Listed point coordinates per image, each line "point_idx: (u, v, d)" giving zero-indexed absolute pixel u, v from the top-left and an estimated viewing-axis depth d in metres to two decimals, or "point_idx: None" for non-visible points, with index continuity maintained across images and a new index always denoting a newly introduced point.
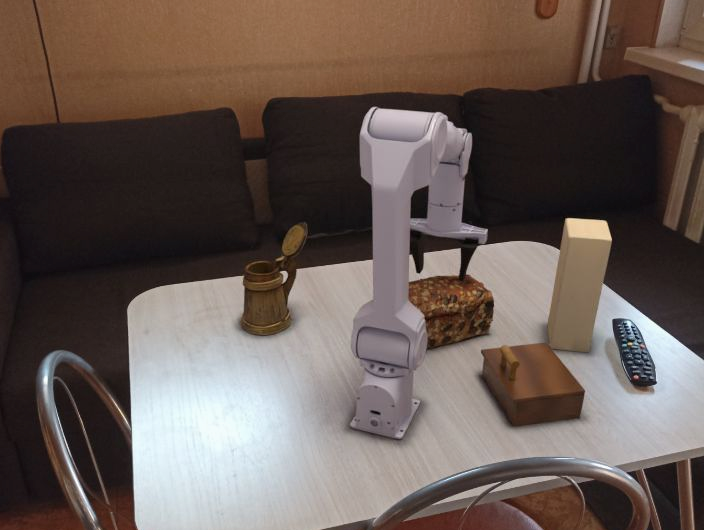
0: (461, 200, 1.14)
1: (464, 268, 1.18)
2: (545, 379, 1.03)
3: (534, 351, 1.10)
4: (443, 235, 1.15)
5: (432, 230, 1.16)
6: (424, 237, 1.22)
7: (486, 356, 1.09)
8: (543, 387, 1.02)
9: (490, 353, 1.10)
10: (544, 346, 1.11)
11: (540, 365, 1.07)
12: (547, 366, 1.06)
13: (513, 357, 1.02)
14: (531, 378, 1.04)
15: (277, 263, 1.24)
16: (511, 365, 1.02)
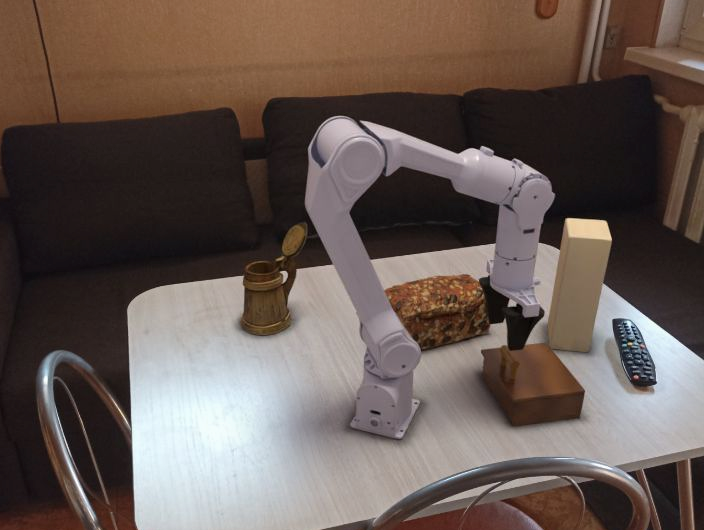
0: (522, 256, 0.94)
1: (509, 336, 0.99)
2: (545, 379, 1.03)
3: (534, 351, 1.10)
4: (494, 287, 0.98)
5: (491, 278, 1.00)
6: None
7: (486, 356, 1.09)
8: (543, 387, 1.02)
9: (490, 353, 1.10)
10: (544, 346, 1.11)
11: (540, 365, 1.07)
12: (547, 366, 1.06)
13: (513, 357, 1.02)
14: (531, 378, 1.04)
15: (277, 263, 1.24)
16: (511, 365, 1.02)
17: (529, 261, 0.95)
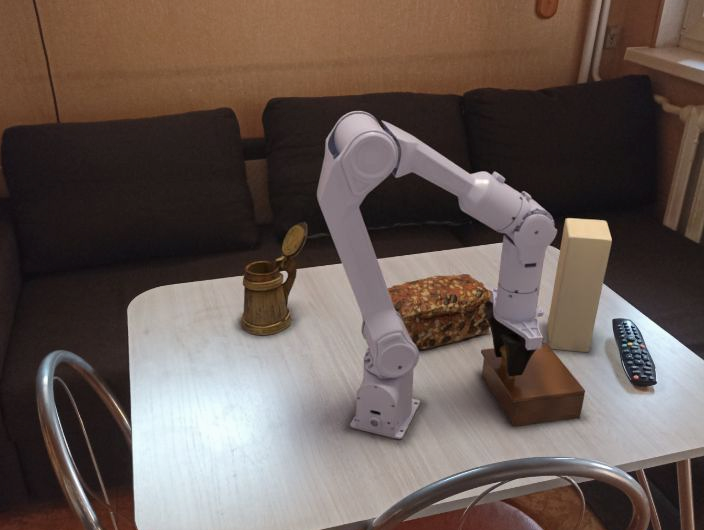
0: (523, 289, 0.95)
1: (508, 362, 1.00)
2: (545, 379, 1.03)
3: None
4: (497, 319, 0.99)
5: (494, 309, 1.01)
6: None
7: (486, 356, 1.09)
8: (543, 387, 1.02)
9: (490, 353, 1.10)
10: (544, 346, 1.11)
11: (540, 365, 1.07)
12: (547, 366, 1.06)
13: None
14: (531, 378, 1.04)
15: (277, 263, 1.24)
16: None
17: (532, 294, 0.96)
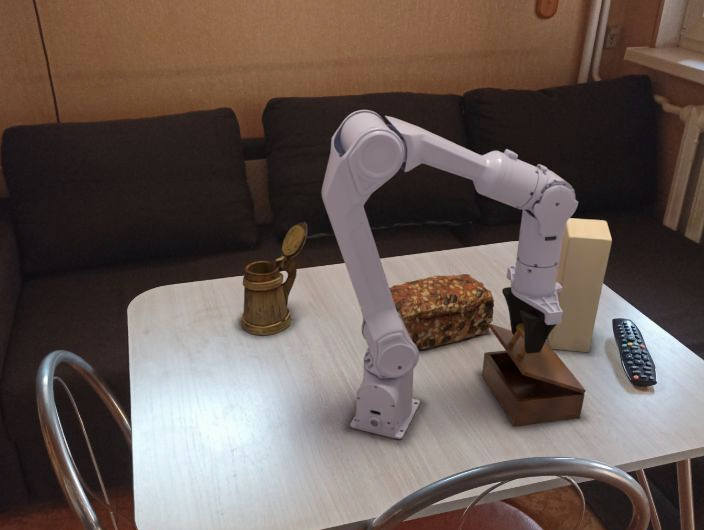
0: (543, 263, 0.94)
1: (526, 339, 0.99)
2: (550, 368, 1.02)
3: None
4: (515, 294, 0.98)
5: (512, 285, 0.99)
6: None
7: (496, 330, 1.07)
8: (550, 373, 1.01)
9: (499, 330, 1.08)
10: (545, 344, 1.11)
11: (544, 356, 1.06)
12: (550, 359, 1.06)
13: None
14: (538, 363, 1.02)
15: (277, 263, 1.24)
16: None
17: (552, 268, 0.94)
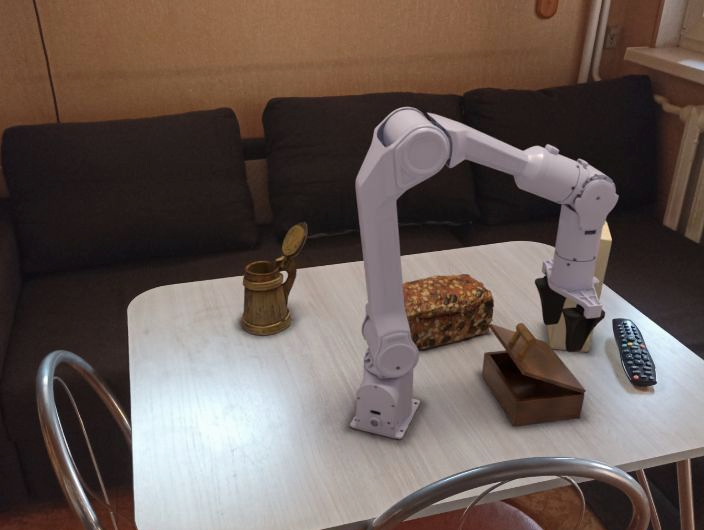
0: (582, 257, 0.94)
1: (568, 337, 0.98)
2: (550, 368, 1.02)
3: (537, 344, 1.09)
4: (553, 288, 0.98)
5: (549, 279, 1.00)
6: None
7: (496, 330, 1.07)
8: (550, 373, 1.01)
9: (499, 329, 1.08)
10: (545, 344, 1.11)
11: (544, 356, 1.06)
12: (550, 359, 1.06)
13: (532, 335, 1.01)
14: (538, 363, 1.02)
15: (277, 263, 1.24)
16: (528, 341, 1.00)
17: (590, 262, 0.95)
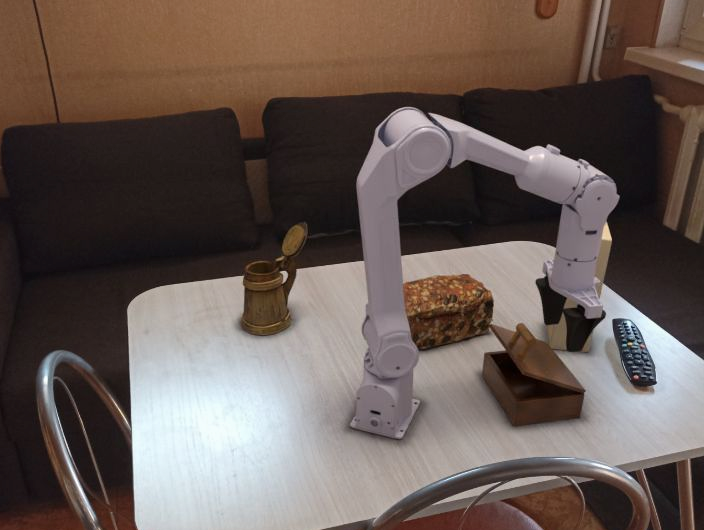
0: (583, 258, 0.94)
1: (568, 337, 0.99)
2: (550, 368, 1.02)
3: (537, 344, 1.09)
4: (554, 288, 0.98)
5: (550, 279, 1.00)
6: None
7: (496, 330, 1.07)
8: (550, 373, 1.01)
9: (499, 329, 1.08)
10: (545, 344, 1.11)
11: (544, 356, 1.06)
12: (550, 359, 1.06)
13: (532, 335, 1.01)
14: (538, 363, 1.02)
15: (277, 263, 1.24)
16: (528, 341, 1.00)
17: (591, 262, 0.95)
